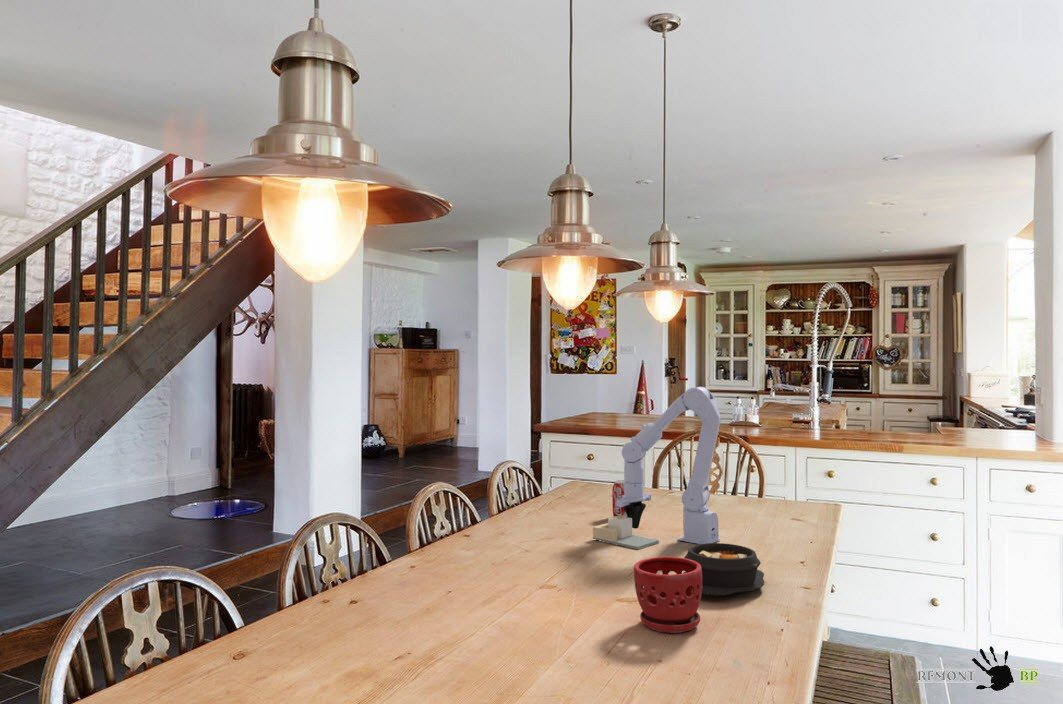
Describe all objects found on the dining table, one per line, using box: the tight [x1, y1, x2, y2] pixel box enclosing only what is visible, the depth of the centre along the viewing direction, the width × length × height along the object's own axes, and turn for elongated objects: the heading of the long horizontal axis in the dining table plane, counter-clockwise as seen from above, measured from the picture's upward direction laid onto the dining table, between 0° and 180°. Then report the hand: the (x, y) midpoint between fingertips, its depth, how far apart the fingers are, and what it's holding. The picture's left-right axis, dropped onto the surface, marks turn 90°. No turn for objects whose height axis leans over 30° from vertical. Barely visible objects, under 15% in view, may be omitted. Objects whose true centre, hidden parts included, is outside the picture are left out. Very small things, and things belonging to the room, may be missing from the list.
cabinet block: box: [607, 516, 633, 538], centre depth 216 cm, size 5×5×6 cm
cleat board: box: [592, 522, 660, 550], centre depth 211 cm, size 16×10×4 cm, turn 45°
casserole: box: [683, 542, 765, 597], centre depth 168 cm, size 25×19×8 cm
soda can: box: [611, 479, 627, 517], centre depth 243 cm, size 7×7×12 cm
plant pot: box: [633, 556, 703, 634], centre depth 144 cm, size 13×13×12 cm
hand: (634, 527), depth 220 cm, fingers closed
